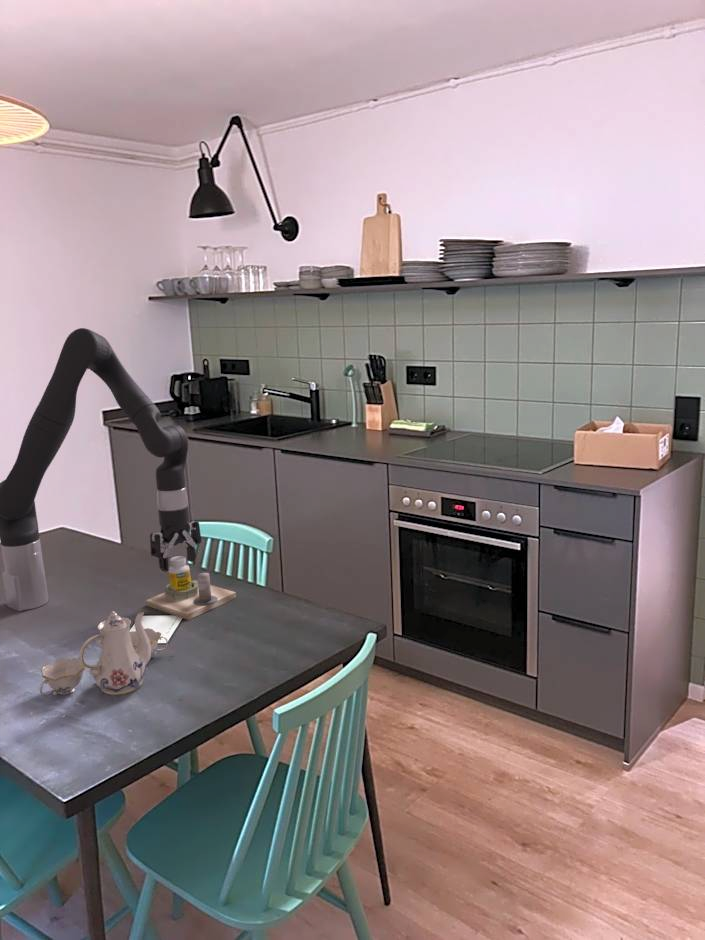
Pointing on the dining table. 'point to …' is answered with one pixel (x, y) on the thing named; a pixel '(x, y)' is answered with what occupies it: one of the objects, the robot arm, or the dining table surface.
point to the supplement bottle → (179, 574)
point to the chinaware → (108, 659)
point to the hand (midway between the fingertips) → (178, 566)
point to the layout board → (191, 598)
